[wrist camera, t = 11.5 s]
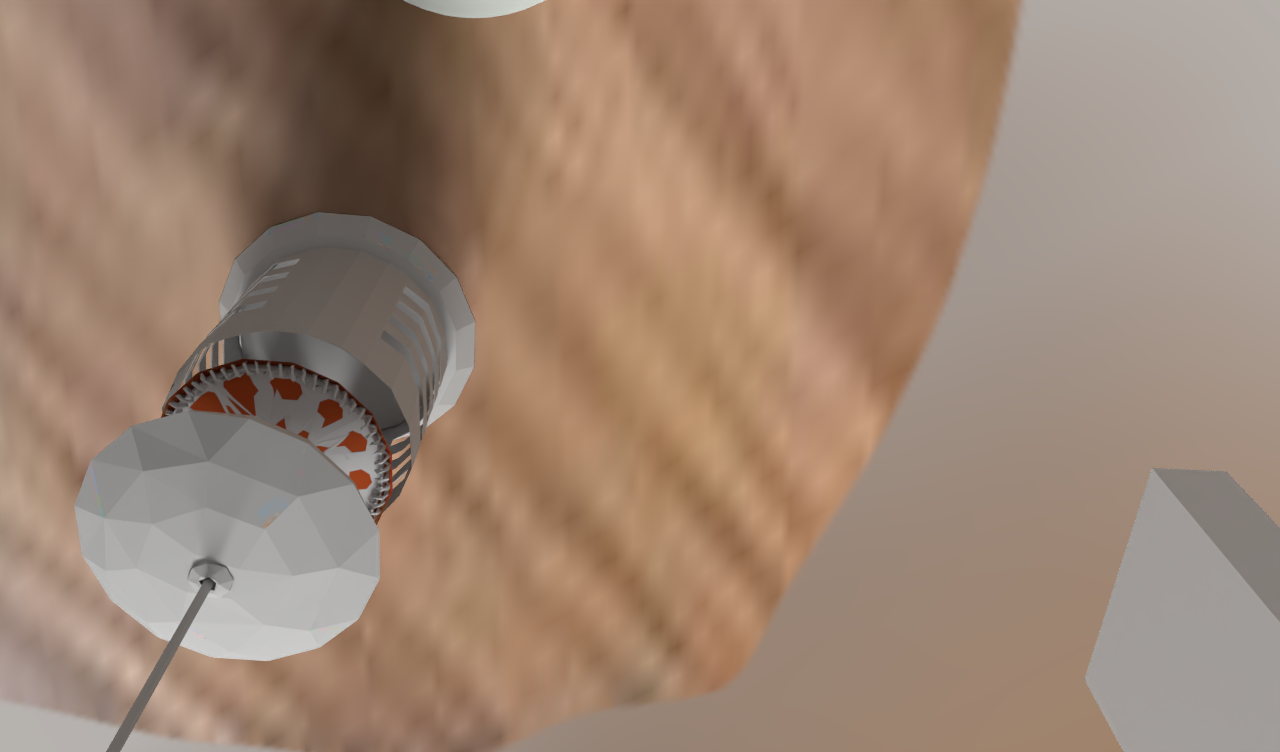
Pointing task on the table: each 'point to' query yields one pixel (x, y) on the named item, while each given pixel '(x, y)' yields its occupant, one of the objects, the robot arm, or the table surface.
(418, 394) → the french press
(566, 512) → the table surface
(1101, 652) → the robot arm
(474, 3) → the dish
